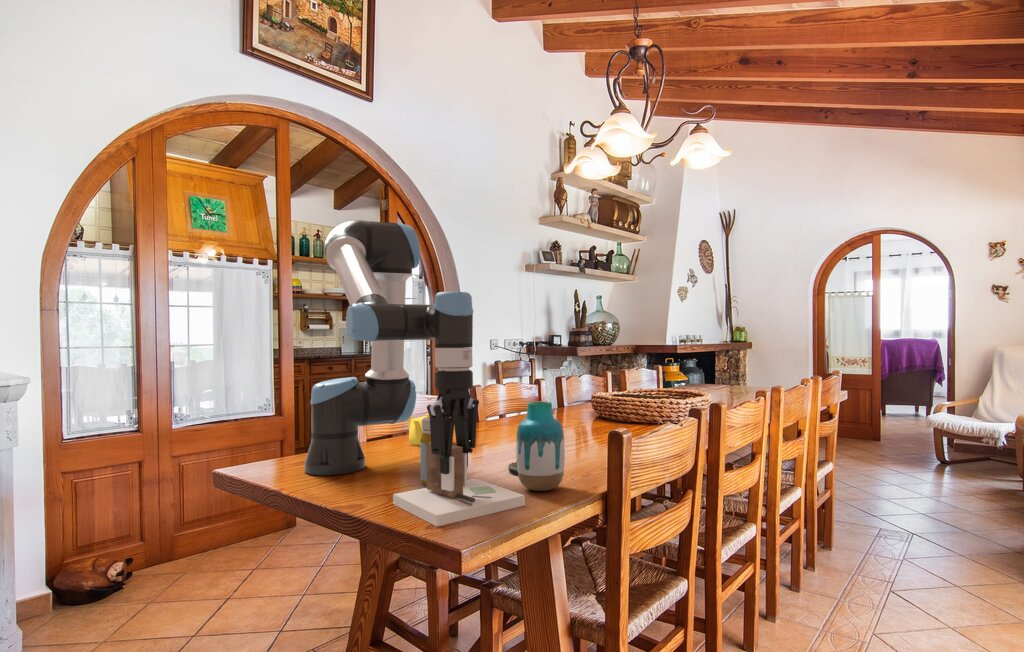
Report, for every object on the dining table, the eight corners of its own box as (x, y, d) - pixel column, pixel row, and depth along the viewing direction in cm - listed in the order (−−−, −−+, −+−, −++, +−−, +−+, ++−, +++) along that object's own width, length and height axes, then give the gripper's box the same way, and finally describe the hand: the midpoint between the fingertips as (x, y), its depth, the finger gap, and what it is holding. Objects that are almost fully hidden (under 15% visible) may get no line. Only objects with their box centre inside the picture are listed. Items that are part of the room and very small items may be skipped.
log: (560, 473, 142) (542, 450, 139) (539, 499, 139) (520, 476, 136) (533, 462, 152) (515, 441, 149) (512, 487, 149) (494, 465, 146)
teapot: (458, 445, 179) (457, 414, 179) (413, 449, 174) (412, 417, 174) (445, 438, 193) (445, 409, 193) (403, 442, 187) (403, 412, 188)
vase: (529, 498, 119) (528, 406, 120) (509, 486, 129) (508, 401, 129) (574, 492, 124) (572, 403, 124) (551, 481, 133) (549, 398, 134)
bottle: (445, 487, 129) (444, 420, 129) (416, 486, 131) (415, 420, 131) (455, 480, 136) (454, 416, 136) (427, 479, 137) (426, 416, 138)
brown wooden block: (424, 490, 118) (424, 443, 119) (439, 486, 121) (438, 440, 121) (466, 503, 108) (465, 452, 108) (481, 500, 110) (480, 450, 111)
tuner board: (393, 504, 117) (393, 493, 117) (475, 487, 129) (475, 477, 129) (436, 526, 103) (436, 514, 103) (524, 505, 115) (524, 494, 115)
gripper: (440, 371, 106) (440, 500, 105) (493, 367, 119) (494, 481, 119) (411, 370, 110) (411, 494, 109) (465, 367, 123) (465, 476, 123)
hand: (454, 487), depth 114 cm, fingers closed on brown wooden block, 3 cm apart
